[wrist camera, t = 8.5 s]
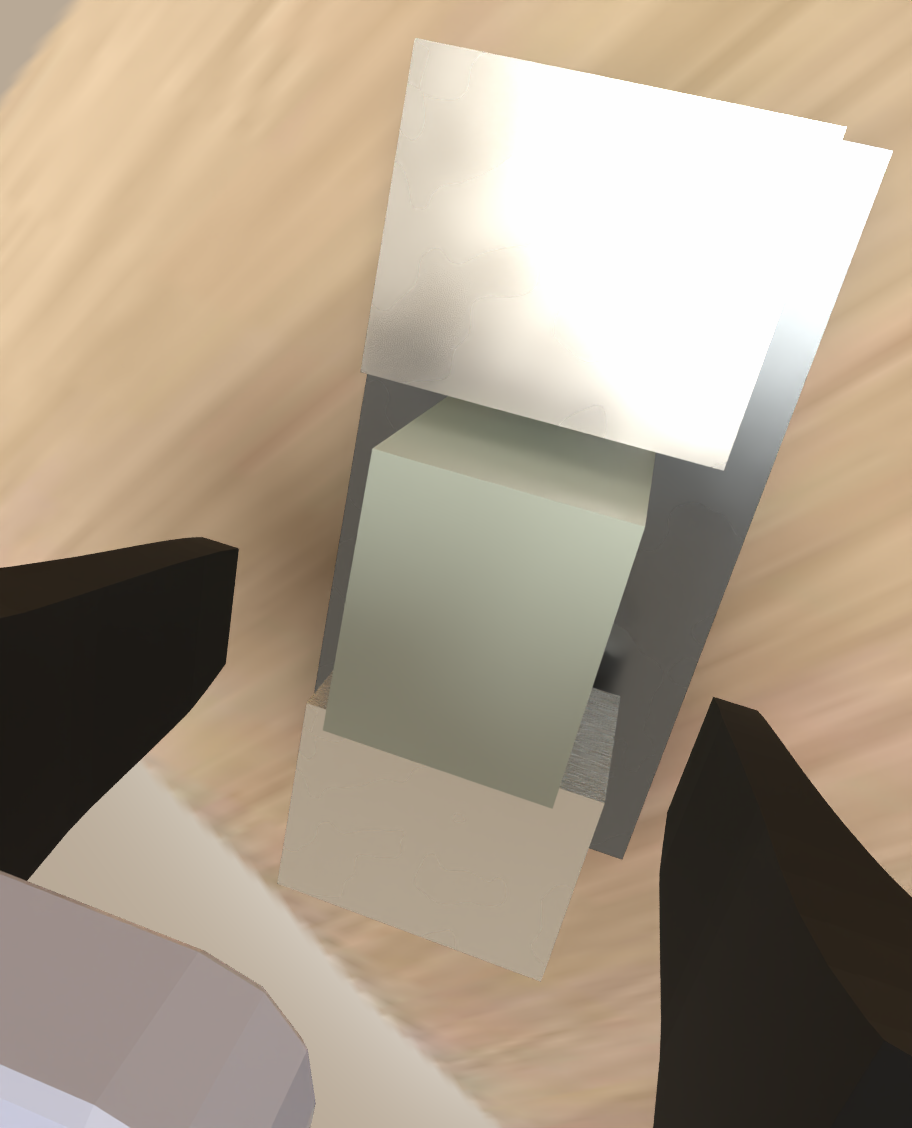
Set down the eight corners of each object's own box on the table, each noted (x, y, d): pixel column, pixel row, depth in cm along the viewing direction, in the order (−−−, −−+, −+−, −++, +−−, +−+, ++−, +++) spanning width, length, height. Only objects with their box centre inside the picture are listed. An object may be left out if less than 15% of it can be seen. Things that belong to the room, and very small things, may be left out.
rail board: (624, 834, 23) (605, 1020, 18) (318, 730, 24) (213, 873, 19) (881, 155, 16) (979, 117, 11) (434, 61, 17) (321, -16, 12)
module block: (590, 644, 19) (552, 808, 14) (423, 592, 20) (322, 730, 14) (658, 432, 17) (645, 526, 12) (469, 381, 18) (372, 448, 12)
